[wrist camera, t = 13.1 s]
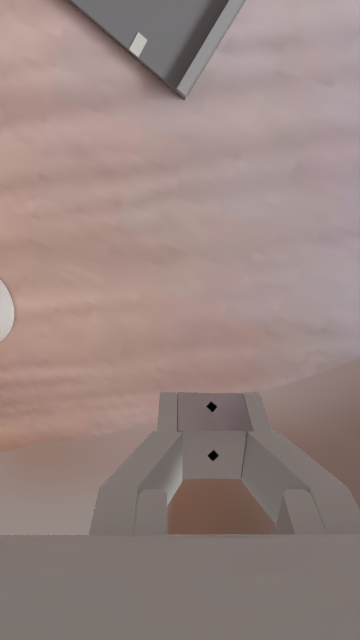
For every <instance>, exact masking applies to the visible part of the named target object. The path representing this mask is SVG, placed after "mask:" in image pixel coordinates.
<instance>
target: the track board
mask: <svg viewBox="0 0 360 640" xmlns="http://www.w3.org/2000/svg"><path fill="white" fill-rule="evenodd" d="M68 1H69V2H70V3H72V4H73V5H74V6H75V7H76V8H77V9H79V10H80V11H81V12H82V13H83V14H84V15H86V16H87V17H88V18H89V19H90V20H91V21H93V22H94V23H95V24H96V25H97V26H98V27H100V28H101V29H102V30H103V31H104V32H105V33H107V34H108V35H109V36H110V37H111V38H113V39H114V40H115V41H116V42H117V43H118V44H120V45H121V46H122V47H123V48H124V49H125V50H127V51H128V52H129V53H130V54H131V55H132V56H134V57H135V58H136V59H137V60H138V61H139V62H141V63H142V64H143V65H144V66H145V67H146V68H148V69H149V70H150V71H151V72H152V73H153V74H155V75H156V76H157V77H158V78H159V79H160V80H162V81H163V82H164V83H165V84H166V85H167V86H169V87H170V88H171V89H172V90H173V91H175V92H176V93H177V94H178V95H179V96H180V97H182V98H183V99H184V100H185V99H186V97H187V95H188V94H189V92H190V90H191V89H192V87H193V85H194V84H195V82H196V81H197V79H198V77H199V76H200V74H201V72H202V71H203V69H204V67H205V66H206V64H207V63H208V61H209V59H210V58H211V56H212V54H213V53H214V51H215V49H216V48H217V46H218V45H219V43H220V41H221V40H222V38H223V36H224V35H225V33H226V31H227V30H228V28H229V27H230V25H231V23H232V22H233V20H234V18H235V17H236V15H237V13H238V12H239V10H240V9H241V7H242V5H243V4H244V2H245V0H68Z"/></svg>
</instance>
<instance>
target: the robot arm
mask: <svg viewBox="0 0 360 640" xmlns="http://www.w3.org/2000/svg"><path fill="white" fill-rule="evenodd" d="M13 322H14V306H13V302H12V299H11V296H10V294H9V292H8V290H7V288H6V287H5V285H4V284H3V282H2V281H1V280H0V342H1V341H2V340H3V339H4V338H5V337H6V336H7V335H8V333H9V332H10V330H11V328H12V325H13ZM201 478H202V479H203V478H222V479H223V478H224V479H241V481H242V482H243V484H244V485H245V486H246V487H247V489H248V490H249V491H250V492H251V494H252V495H253V496H254V497H255V499H256V500H257V501H258V502H259V504H260V505H261V506H262V508H263V509H264V510H265V511H266V513H267V514H268V515H269V516H270V518H271V519H272V520H273V522H274V523H275V524H276V528H275V532H274V534H265V535H264V534H260V535H259V534H257V535H256V534H255V535H254V534H248V535H246V534H245V535H243V534H241V535H167V505H168V504H169V502H170V500H171V499H172V497H173V495H174V493H175V492H176V490H177V489H178V487H179V485H180V484H181V482H182V479H201ZM0 640H360V511H359V509H358V506H357V505H356V502H355V500H354V498H353V496H352V495H351V493H350V491H349V489H348V488H347V487H346V486H345V485H344V484H342V483H341V482H340V481H339V480H338V479H336V478H335V477H334V476H333V475H331V474H330V473H329V472H328V471H326V470H325V469H324V468H323V467H321V466H320V465H319V464H318V463H316V462H315V461H314V460H313V459H312V458H310V457H309V456H308V455H307V454H305V453H304V452H303V451H301V450H300V449H299V448H298V447H297V446H295V445H294V444H293V443H292V442H290V441H289V440H288V439H287V438H285V437H284V436H283V435H282V434H280V433H279V432H273V430H272V427H271V424H270V422H269V419H268V416H267V413H266V410H265V407H264V404H263V402H262V398H261V396H260V394H259V393H258V392H248V393H185V392H177V393H176V392H161V393H160V399H159V414H158V430H157V431H156V432H152V433H151V434H150V435H149V436H148V437H147V438H146V439H145V440H144V441H143V442H142V443H141V444H140V445H139V446H138V448H136V450H135V451H134V452H133V453H132V454H131V455H130V456H129V457H128V458H127V459H126V460H125V461H124V462H123V463H122V464H121V466H120V467H119V468H118V469H117V470H116V471H115V472H114V473H113V474H112V475H111V476H110V477H109V478H108V479H107V481H106V482H105V483H104V484H103V485H102V486H101V487H100V488H99V493H98V497H97V501H96V506H95V510H94V515H93V519H92V523H91V528H90V532H89V535H13V536H12V535H0Z"/></svg>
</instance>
